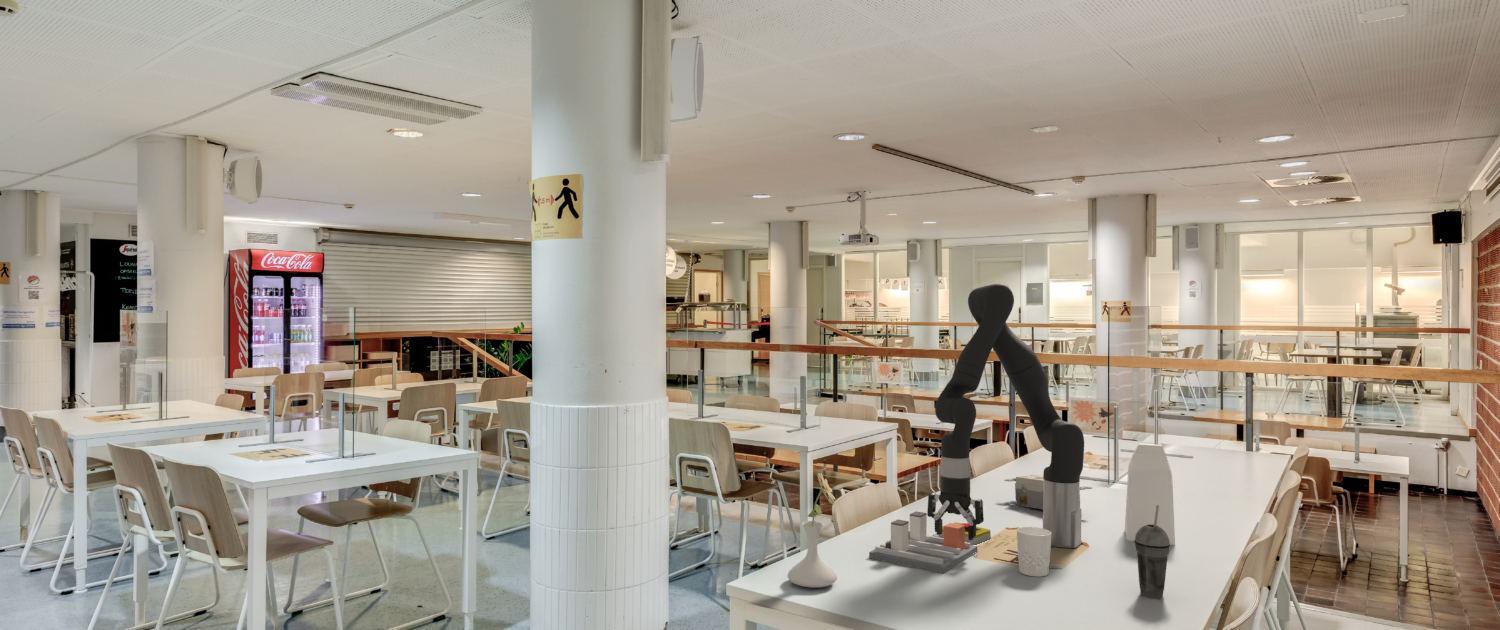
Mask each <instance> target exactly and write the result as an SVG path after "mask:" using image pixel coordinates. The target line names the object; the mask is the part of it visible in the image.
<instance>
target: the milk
mask: <svg viewBox="0 0 1500 630" xmlns="http://www.w3.org/2000/svg"><path fill="white" fill-rule="evenodd" d="M1172 475H1173V473H1172V470H1171V467H1170V464H1169V460H1168V456H1167V454H1166V452H1165V450H1164V447H1163V445H1162V444H1153V443H1152V444H1151V443H1149V444H1148V443H1138V444H1137V446H1136V448H1135V449H1134V452H1133V453H1132V456H1131V459H1130V461H1129V463H1128V467H1127V485H1126V486H1127V487H1126V501H1125V502H1126V503H1125V517H1124V518H1125V519H1124V521H1125V522H1124V535H1125V538H1126V541H1131V542H1134V540H1135V536H1136V533H1137V531H1138V530H1139V529H1140V528H1141V527H1143V526H1145V525H1154V521H1155V513H1156V505H1159V510H1158V518H1157V526H1159V527H1160V528H1162V529H1163V530H1164V531H1165V532H1166V534H1167V535H1168V538H1169V542H1170V546H1173V545H1174V546H1175V545H1176V536H1175V532H1176V531H1175V530H1176V529H1175V511H1174V509H1175V507H1174V490H1173V489H1174V488H1173V487H1174V486H1173V476H1172Z"/></svg>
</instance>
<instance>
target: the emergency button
mask: <svg viewBox="0 0 1500 630" xmlns="http://www.w3.org/2000/svg"><path fill="white" fill-rule="evenodd" d="M953 523H954V524H960V525H965V542H967V543H971V545H972V546H973V545H977V544H980V543H982V542H985V541H987V540H990V539H992V536H991V529H989V528H985V527H980V526H976V537H975V538H974V539H973V540H968V526H969V523H968V522H966V523H965V522H963V523H961V522H953ZM944 526H945V525H942V534H941V535H937V532H935V533H934V534H932V536H934V537H939V538H944Z"/></svg>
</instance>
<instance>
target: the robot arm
mask: <svg viewBox="0 0 1500 630" xmlns="http://www.w3.org/2000/svg"><path fill="white" fill-rule="evenodd" d="M1014 296H1015V295H1014V293H1013V290H1012V289H1011V288H1010V287H1009V286H1008V285H1006V284H1004V283H994V284H988V285H984V286H980V287H976V288H974V289H972V290H971V291H970V293H969V294H968V298H967V299H968V300H967V304H968V305H967V306H968V309H969V311H970V314H971V316H972V317H973V319H974V320H975V322H976V323H977V325H978V327H977V328H976V331H975V332H974V333H973V335H972V336H971V338H970V340H969V341H968V342H967V343H966V345H965V346H964V348H963V350H962V351H961V353H960V355H959V356H958V359H957V362H956V364H955V366H954V370H953V373H952V376H951V377H950V379H949V381H948V382H947V384H946V386H944V389H943V390H942V391H941V393H940V394H939V396H938V397H937V400H936V401H935V407H934V412H935V416H936V419H937V420H939V421H940V422H942V423H945V424H953V425H954V426H953V430H952V432H946V433H944V434H943V435H942V436H941V441H940V442H941V444H940V445H941V446H940V447H941V449H940V450H941V451H940V453H941V454H940V456H941V458H940V464H939V466H940V467H939V474H940V477H939V478H940V480H939V481H940V482H939V484H940V485H939V486H940V487H939V488H940V494H937V493H936V492H932V493H930V494H928V496H927V499H928V500H927V511H926V513H927V517H930V518H932V519H933V520H934V532H935V533H937V535H941V534H942V526H943V519H942V518H943V517H944V515H945V514H946V513H947V514H955V515H958V516H960V515H961V516H962V518H963V519H964V520H966V523H969V526H968V540H973V539H974V538H975V537H976V527H977V525H980V524H982V523H984V520H985V519H984V503H983V502H984V501H983V500H982V498H978V499H972V498H971V461H970V460H971V459H970V442H971V441H970V440H971V436H972V433H973V429H974V426H975V422H976V419H977V408H976V405H975V403H974V402H973V400H971V399H970V398H967V397H964V396H965V395H967V394H969V393H973V392H976V391H977V390H978V388H979V385H980V382H981V378H982V376H983V373H984V371H985V369H986V368H985V367H986V364H987V361H988V359H989V357H990V354H991V353H992V350H993V351H994V352H995V354H996V357H997V358H998V359H999V362H1000V363H1001V365H1002V367H1003V370H1004V372H1005V373H1006V376H1007V378H1008V379H1009V382H1010V383H1011V385H1012V386H1013V388H1014V390H1015V392H1016V394H1017V395H1018V397H1019V399H1020V402H1021V403H1022V404H1023V406H1024V409H1025V410H1026V412H1027V414H1028V416H1029V419H1030V421H1031V424H1032V426H1033V429H1034V430H1035V434H1036V436H1037V439H1038V441H1039V443H1040V444H1041V446H1042V447H1043V449H1045V450H1046V451H1048V452H1049V453H1051V456H1050V463H1049V465H1048V466H1046V467H1045V468H1044V469H1043V478H1044V479H1043V509H1042V529H1046V530H1049V531H1050V532H1051V547H1058V548H1067V549H1068V548H1069V549H1070V548H1072V549H1076V548H1078V547H1079V546H1080V545H1081V544H1082V508H1081V507H1080V508H1079V487H1080V485H1081V484H1080V480H1081V479H1080V477H1081V474H1082V473H1083V472H1082V471H1083V470H1084V469H1083V468H1084V455H1085V437H1084V433H1083V431H1082V429H1081V428H1080V427H1079V426H1078V425H1077V424H1075V423H1072V422H1069V421H1064V420H1063V419H1062V417H1060V415H1059V413H1058V412H1057V410H1056V409H1055V407H1054V405H1053V402H1052V400H1051V398H1050V394H1049V393H1050V391H1049V382H1048V377H1047V373H1046V371H1045V369H1044V367H1043V365H1042V364H1041V362H1040V361H1041V360H1039V357H1038V355H1037V354H1036V353H1035V351H1034V350H1033V349H1032V348H1031V347H1030V346H1029V345H1028V344H1027V343H1025V341H1023V340H1022V339H1021V338H1020V337H1019V336H1017V335H1016V333H1014V332H1013V331H1012V329H1011V328H1010V327H1009V325H1008V324H1007V320H1008V319H1009V316H1010V315H1011V314H1012V313H1011V312H1012V311H1013V307H1014V304H1015V297H1014ZM938 501H939V502H940V505H942V506H941V507H940V508H938V510H937V512H936V507H937V502H938ZM971 505H972V508H973V509H974V513H973V512H972V510H971V509H970V506H971Z"/></svg>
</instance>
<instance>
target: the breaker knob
mask: <svg viewBox="0 0 1500 630" xmlns="http://www.w3.org/2000/svg"><path fill="white" fill-rule="evenodd" d="M909 531H910V520H909V521H908V520H903V519H896V520H893V521H891V522H890V540H891V549H894V550H899V551H904V552H906V551H908V544H909Z"/></svg>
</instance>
